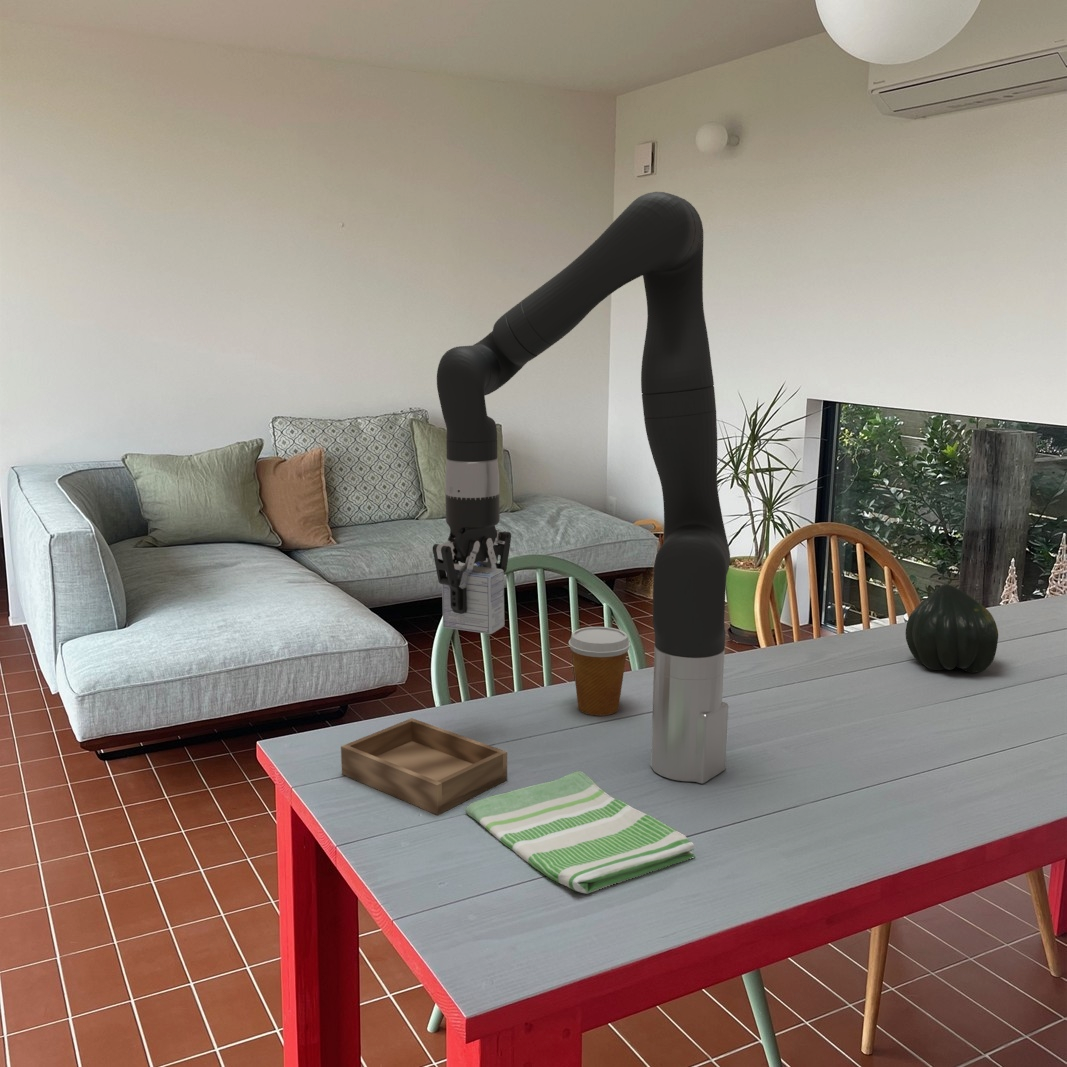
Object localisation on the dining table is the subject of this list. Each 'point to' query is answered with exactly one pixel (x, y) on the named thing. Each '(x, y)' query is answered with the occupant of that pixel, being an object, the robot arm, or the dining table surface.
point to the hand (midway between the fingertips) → (473, 607)
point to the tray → (424, 765)
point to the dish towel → (580, 833)
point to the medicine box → (478, 602)
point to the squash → (952, 632)
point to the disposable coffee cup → (599, 668)
